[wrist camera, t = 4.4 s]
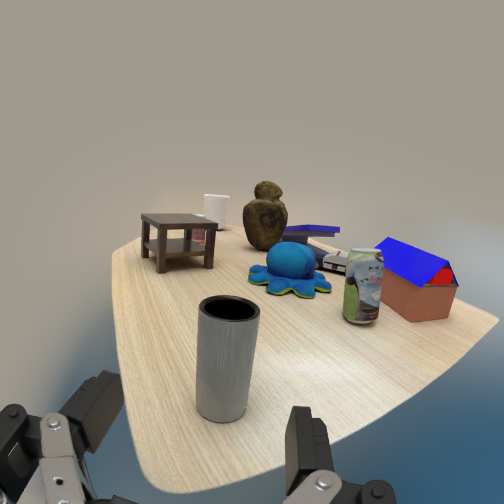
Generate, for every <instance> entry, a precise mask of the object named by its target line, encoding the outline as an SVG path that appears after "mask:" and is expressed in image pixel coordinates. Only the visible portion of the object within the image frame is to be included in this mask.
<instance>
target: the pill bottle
mask: <svg viewBox="0 0 504 504" xmlns="http://www.w3.org/2000/svg"><path fill="white" fill-rule="evenodd" d="M194 215H196V216H199V217H202V218H205V215H199V214H194ZM205 231H206V229H192V240H193V241H195V242H197V243H199V244H201V245H204V243H205Z"/></svg>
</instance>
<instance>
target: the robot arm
mask: <svg viewBox="0 0 504 504" xmlns="http://www.w3.org/2000/svg"><path fill="white" fill-rule="evenodd" d="M123 403H124V395H123V390H122V384H121V379H120V375H119V374H117V373H113V372H110V371H107V370H103V371H102V372H101V373H100V374H99V376H98V377H97V378H96V377H91V378H90V379H88V380H86V381H84V383H83V384H82V385H81V386H80V388H79V389H78V390H77V391H76V392H75V394H73V396H72V397H71V398H70V399H69V401H68V402H67V403H66V404H65V405H64V406H63V408H62V409H61V410H60V411H59V412H58V413H49V414H46V415H44V416H43V417H37V416H32V415H28V414H27V412H26V410H25V409H24V407H23V406H21V405H18V404H10V405H8V406H6V407H5V408H4V409H3V410H2V411H1V412H0V504H16V503H17V501H18V500H19V498H20V496H21V494H22V492H23V491H24V489H25V487H26V486H27V484H28V482H29V480H30V479H31V477H32V475H33V474H34V472H35V471H36V469H37V467H38V465H39V466H40V473H41V479H42V485H43V491H44V496H45V501H46V504H138V503H135V502H132V501H129V500H126V499H123V498H121V497H118V496H116V495H113V497H112V499H111V500H110V499H98V498H97V496H96V494H95V492H94V490H93V487H92V484H91V481H90V477H89V474H88V470H87V466H86V463H85V459H84V456H83V455H84V453H85V451H88V452H91V453H93V454H94V453H95V451H96V450H97V448H98V446H99V445H100V443H101V441H102V440H103V438H104V437H105V435H106V433H107V431H108V430H109V428H110V426H111V425H112V423H113V421H114V420H115V418H116V417H117V415H118V413H119V412H120V410H121V409H122V406H123ZM16 443H17V445H16ZM15 445H16V446H15ZM14 446H15V448H14V449H13V447H14ZM12 449H13V451H12V452H11V450H12ZM10 452H11V453H10ZM9 453H10V455H9ZM8 455H9V456H8ZM285 462H286V496H289V497H288V498H287V499H286V500H284V501H283V502H282V503H281V504H397V503H396V499H395V495H394V490H393V488H392V486H391V485H390V484H389V483H387V482H385V481H382V480H372V481H369V482H367V483H366V484H365V485H359V484H353V483H349V482H346V481H343V480H342V479H340V477H339V476H338V475H337V474H336V473H335V471H334V467H333V461H332V456H331V451H330V444H329V439H328V433H327V428H326V425H325V424H324V423H323V421H322V420H321V419H320V418H312V415H311V409H310V407H303V406H293V407H292V410H291V414H290V417H289V421H288V424H287V427H286V433H285Z"/></svg>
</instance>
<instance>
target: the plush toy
mask: <svg viewBox="0 0 504 504" xmlns="http://www.w3.org/2000/svg"><path fill="white" fill-rule="evenodd" d="M266 263H267V266H268V267H267V266H261V265H254V266H252V267H251V268H250V270H249V274H250V275H249V276H248V277H249V278H248V281H249V282H251V283H252V284H257V285H260V284H263V283H265V284H266V283H269V285H268V286H267V288H266V289H265V290H266V291H269V292H271V293H273V294H277V295H278V294H285V293H286V292H288V291H290V290H293V291H294V292H295V294H296V295H298V296H301V297H304V298H314V296H315V291H314V288H315V289H317V290H319V291H321V292H329V291H331V288H332V287H331V284H330V283H329V282H327V281H326V280H325V276H324V275H323V274H321V273H318V272H315V266H316V259H315V254H314V252H313V251H312V250H311V249H310V248H309V247H307V246H305V245H302V244H299V243H295V242H282V243H278V244H276V245H274V246H273V247H272V248H271V249H270V250H269V252H268V254H267V258H266Z"/></svg>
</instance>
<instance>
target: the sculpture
mask: <svg viewBox="0 0 504 504" xmlns="http://www.w3.org/2000/svg"><path fill="white" fill-rule="evenodd" d="M254 194H255V197H256V199H255V200H252V201H251V202H250V203H249V204H247V205H246V206H245V207H244V209H243V224H244V228H245V232H246V236H247V239H248V241H249V243H250V244H251V245H252V246H253V247H254V248H256V249H259V250H266V249H270V248H272V247H273V246H274V245H276V244H277V243H278V242H279V240H280V239H281V237H282V235H283V233H284V231H285V228H286V225H287V218H288V213H287V210H286V208H285V205H284V203H283V202H281V201H280V200H279V197H281V196H282V194H283V192H282V190H281V189H280V188H279V187H278V186H277V185H276V184H275V183H273V182H270V181H263V182H261V183H259V184H257V186H256V187H255V190H254Z"/></svg>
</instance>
